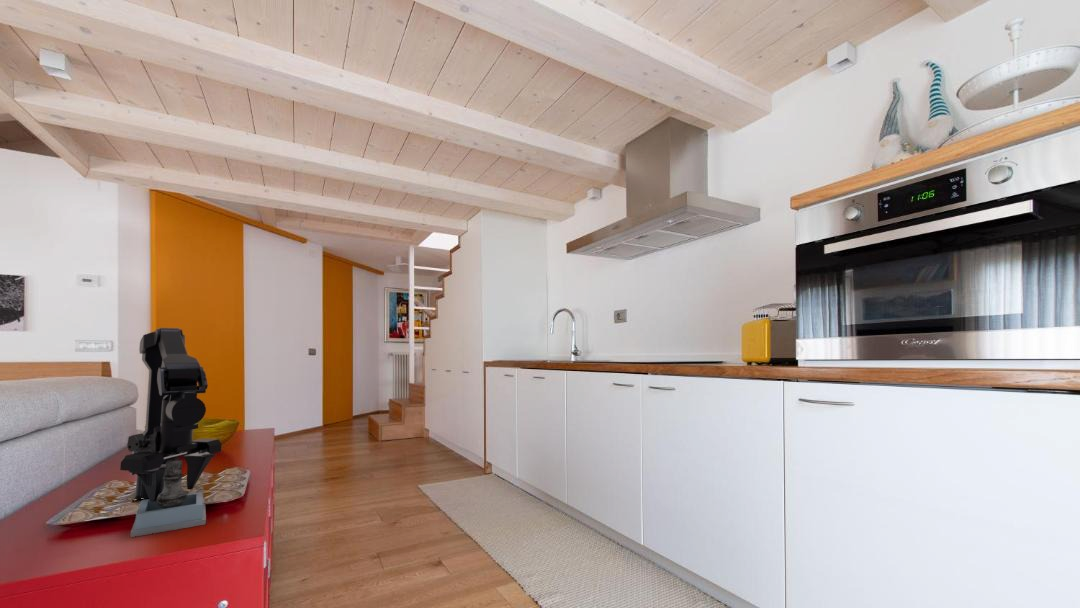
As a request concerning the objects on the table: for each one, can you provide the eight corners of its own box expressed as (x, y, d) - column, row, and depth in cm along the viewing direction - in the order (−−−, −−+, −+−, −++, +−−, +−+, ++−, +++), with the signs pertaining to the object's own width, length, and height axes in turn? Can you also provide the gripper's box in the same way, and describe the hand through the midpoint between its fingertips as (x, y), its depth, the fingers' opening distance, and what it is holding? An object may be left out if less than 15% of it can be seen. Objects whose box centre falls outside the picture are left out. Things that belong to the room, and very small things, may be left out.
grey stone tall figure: (173, 517, 99) (177, 457, 100) (145, 516, 99) (149, 457, 100) (194, 507, 105) (198, 451, 106) (168, 507, 105) (172, 450, 106)
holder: (136, 519, 103) (138, 500, 103) (204, 508, 110) (206, 490, 110) (130, 537, 93) (132, 516, 94) (205, 524, 100) (206, 504, 100)
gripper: (184, 413, 114) (179, 481, 113) (100, 426, 96) (93, 507, 94) (225, 414, 112) (221, 483, 111) (147, 428, 94) (141, 510, 92)
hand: (172, 495), depth 102 cm, fingers closed on grey stone tall figure, 8 cm apart
